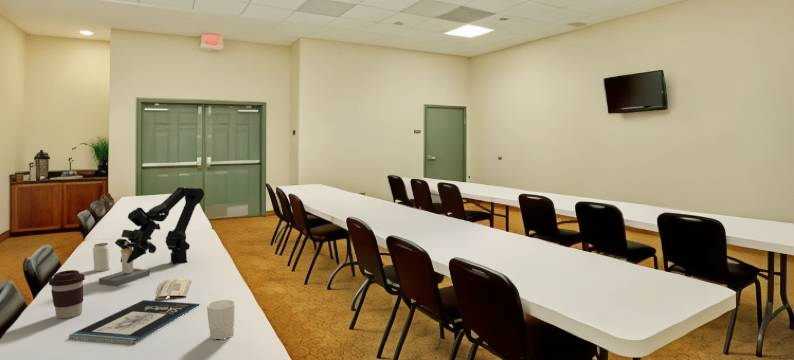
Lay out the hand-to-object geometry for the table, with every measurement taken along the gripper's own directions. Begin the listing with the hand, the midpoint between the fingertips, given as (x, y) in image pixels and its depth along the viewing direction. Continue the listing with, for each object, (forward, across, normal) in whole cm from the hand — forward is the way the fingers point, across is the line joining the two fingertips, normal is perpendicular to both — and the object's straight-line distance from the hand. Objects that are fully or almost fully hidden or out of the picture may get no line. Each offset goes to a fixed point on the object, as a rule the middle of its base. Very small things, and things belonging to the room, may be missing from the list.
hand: (124, 262), depth 194 cm
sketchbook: (+28, +45, -16) cm, 55 cm away
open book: (+9, +31, +3) cm, 32 cm away
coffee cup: (+31, +17, -20) cm, 40 cm away
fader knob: (+2, 0, +4) cm, 5 cm away
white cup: (+28, +79, -17) cm, 85 cm away
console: (+6, 0, +5) cm, 8 cm away
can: (0, -24, +11) cm, 26 cm away
